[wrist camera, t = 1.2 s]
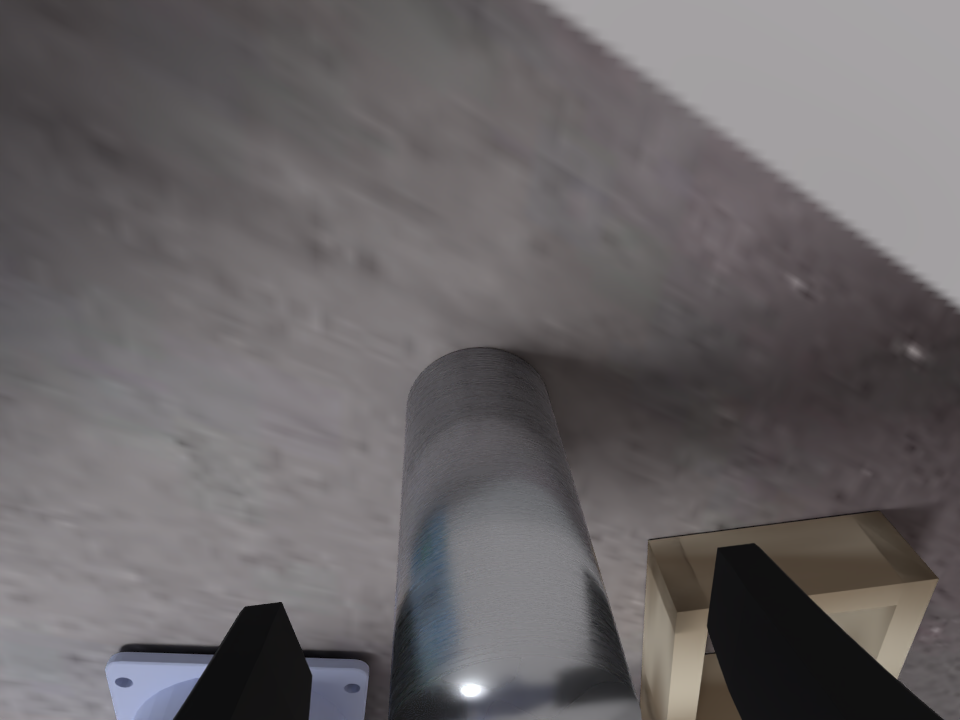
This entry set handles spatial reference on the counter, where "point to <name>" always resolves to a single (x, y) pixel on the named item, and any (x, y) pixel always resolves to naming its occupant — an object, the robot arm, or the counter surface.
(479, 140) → the counter surface
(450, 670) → the grey peg
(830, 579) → the socket block
